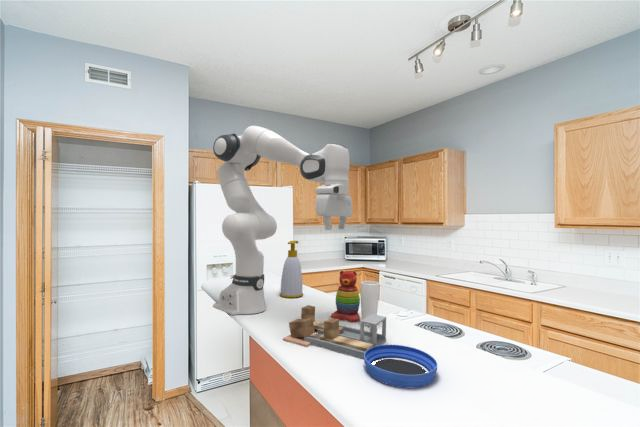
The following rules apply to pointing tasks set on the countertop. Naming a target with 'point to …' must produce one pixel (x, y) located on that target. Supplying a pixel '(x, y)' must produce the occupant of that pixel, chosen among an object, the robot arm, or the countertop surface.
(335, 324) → the strip near
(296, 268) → the soap bottle
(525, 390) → the countertop surface
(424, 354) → the blue round shallow tray
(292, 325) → the walnut block
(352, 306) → the stacking bear
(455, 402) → the countertop surface
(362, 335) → the lane board
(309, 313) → the strip far
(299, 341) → the coaster
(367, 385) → the countertop surface
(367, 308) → the drinking glass
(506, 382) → the countertop surface
